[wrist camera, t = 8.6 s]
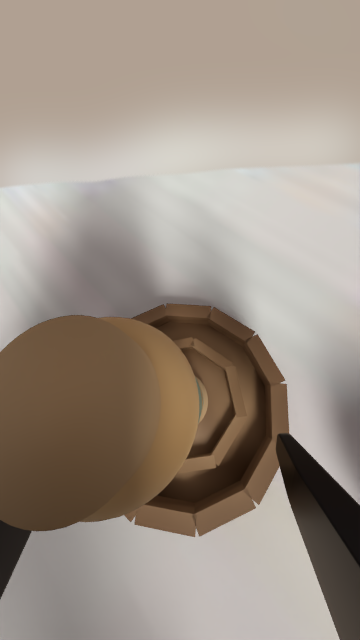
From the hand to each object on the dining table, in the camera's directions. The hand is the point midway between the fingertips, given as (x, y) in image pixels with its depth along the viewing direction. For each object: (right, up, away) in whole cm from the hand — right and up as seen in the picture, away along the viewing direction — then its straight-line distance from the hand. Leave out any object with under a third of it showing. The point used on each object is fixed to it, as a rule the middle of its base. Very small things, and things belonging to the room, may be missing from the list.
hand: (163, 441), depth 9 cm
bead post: (+1, -1, +7) cm, 7 cm away
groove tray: (+1, -1, +8) cm, 8 cm away
